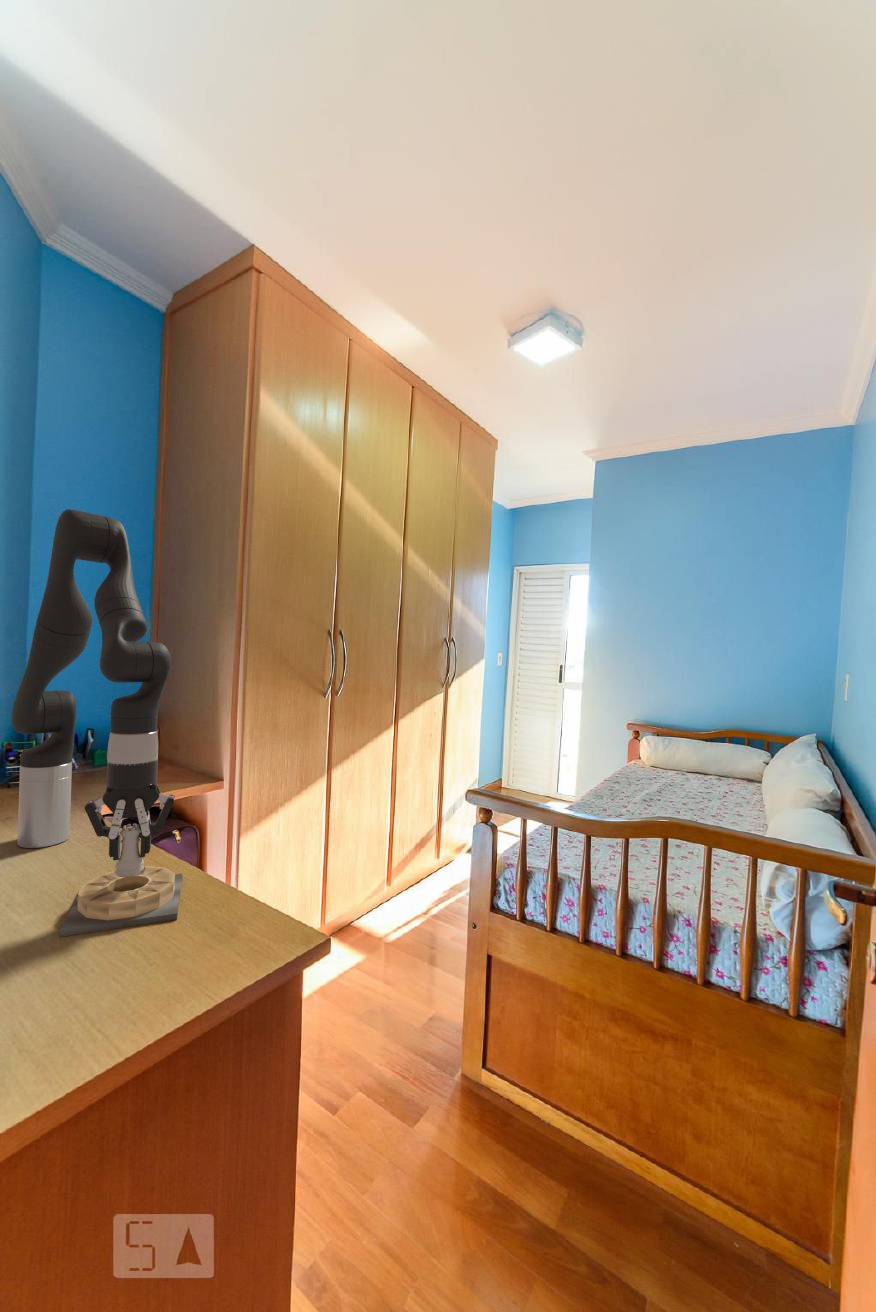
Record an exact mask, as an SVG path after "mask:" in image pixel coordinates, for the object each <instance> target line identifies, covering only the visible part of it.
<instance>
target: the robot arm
mask: <svg viewBox="0 0 876 1312" xmlns="http://www.w3.org/2000/svg"><path fill="white" fill-rule="evenodd" d="M129 544H130V543H129V540H128V535H127V532H126V530H125V527H124V525H123V523H121V521H119V520H118V519H116V518H113V517H111V516H105V515H100V514H96V513H91V512H86V511H82V510H77V509H71V508H69V509H64V510H63V511H62V512H61V514H60V515H59V516H58V519H57V523H56V526H55V530H54V536H53V541H52V549H51V555H50V562H49V569H48V576H47V580H46V586H45V589H44V593H43V597H42V599H41V600H42V601H41V604H40V607H39V611H38V615H37V617H36V618H37V619H36V623H35V626H34V630H33V636H32V640H31V647H30V651H29V655H28V660H27V663H26V668H25V671H24V673H23V676H22V678H21V681H20V684H19V687H18V688H17V692H16V695H15V699H14V702H13V705H12V710H11V725H12V728H13V729H14V731H16V732H17V733H19V734H20V735H21V734H22V735H36V734H48V733H51V734H50V736H49V737H48V738H47V739H46V740H44V741H43V742H41V743H39V744H37V745H35V746H33V747H30V748H26V749H25V750H24V751H22V752H21V754H20V757H19V784H18V785H19V787H18V789H19V790H18V792H19V793H18V817H17V819H18V820H17V844H16V845H17V846H18V847H21V848H24V849H35V848H36V849H37V848H38V849H39V848H46V847H49V846H55V845H57V844H61V843H63V842H65V841H67V840H69V838H70V834H71V833H70V832H71V830H70V829H71V802H72V801H71V800H72V778H73V776H72V774H73V772H72V769H73V753H74V748H75V733H76V723H77V710H78V708H77V706H78V705H77V701H76V697H75V695H74V693H73V692H71V691H69V690H61V689H60V690H59V689H58V690H46V689H47V688H48V685H49V684H50V683H51V681H53V679H54V678H56V677H57V675H59V674H60V673H61V672H62V671H64V670H65V669H66V668H67V667H68V666H70V665H71V664H72V663H73V662H74V661H76V660H77V658H78V657H80V656H81V655H82V654H83V652H84V651H85V649H86V647H87V646H88V645H87V644H88V641H89V637H90V634H91V631H92V627H93V615H92V612H91V609H90V608H89V606H88V603H87V602H86V600H85V598H84V597H83V595H82V593H81V591H80V589H79V587H78V584H77V582H76V579H75V574H74V572H75V571H74V570H75V564H76V561H77V560H78V561H86V562H91V563H92V562H93V563H97V564H99V563H100V564H107V565H108V568H109V573H108V574H107V576H106V577H104V579H103V581H102V582H101V583H100V585H99V587H98V588H97V590H96V593H95V595H94V604H93V605H94V609H95V614H96V616H97V621H98V623H99V627H100V629H101V651H100V659H99V669H100V672H101V674H102V675H103V676H104V678H106V679H107V680H108V681H110V682H112V683H117V684H119V683H120V684H121V683H126V684H127V683H141V685H140V687H139V689H138V690H137V691H136V692H134V693H131V694H129V695H128V694H127V695H124V696H120V697H117V698H115V699H114V700H113V701H112V703H111V705H110V724H109V725H110V730H109V731H110V732H109V739H108V741H107V751H106V761H107V763H106V765H107V766H106V789H105V792H104V794H103V795H102V796H101V797H100V798H96V799H90V800H89V801H87V803H86V804H85V805H84V811H85V812H86V815H87V817H88V819H89V822H90V823H91V826H92V828H93V831H94V832H95V835H96V836H97V837H104V838H105V837H106V838H108V840H109V841H108V842H109V843H108V856H109V858H112V861H118V859H119V858H120V856H121V838H122V836H121V834H120V831H121V830H120V829H121V827H122V822H123V819H128V818H131V817H132V818H138V823H139V827H140V829H141V830H142V831H141V836H140V849H139V853H140V858H142V859H143V858H146V855H147V854H149V853H150V851H151V848H152V845H151V844H152V834H154V833H156V832H160V831H162V828H163V827H164V824H165V823H166V820H167V818H168V816H169V815H170V814H169V813H170V812H171V810H172V808H173V805H174V804H175V800H176V796H175V795H174V794H170V795H167V794H164V793H162V792H161V790H160V789H159V788H158V770H159V769H158V766H159V765H158V763H159V736H158V722H159V721H158V719H159V705H160V701H161V698H162V696H163V692H164V689H165V685H166V682H167V680H168V677H169V675H170V671H171V667H172V656H171V653H170V651H169V649H168V648H167V646H166V645H164V644H163V643H161V642H157V641H156V642H155V641H140V640H141V639H143V638H144V637H145V635H146V634H147V631H148V624H147V620H146V617H145V614H144V612H143V609H142V606H141V603H140V601H139V599H138V596H137V595H138V594H137V592H136V587H135V581H134V580H135V579H134V573H133V565H132V558H131V551H130V550H131V549H130V546H129ZM157 800H158V801H159V807H160V808H161V811H160V813H159V815H158V817H157V819H156V821H155V822H151V815H150V809H151V808H152V807H153V805H155V803H157ZM104 804H105V806H106V807H107V808H108V809H109V810H110V812H111V813H112V814H113V817H112V821H111V824H110V825H111V826H107V824H106V821H105V819H104V816H103V815H102V810H103V808H104V806H103V805H104Z"/></svg>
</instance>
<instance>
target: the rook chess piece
mask: <svg viewBox="0 0 876 1312" xmlns="http://www.w3.org/2000/svg"><path fill="white" fill-rule="evenodd" d="M131 825H132V826H131ZM141 833H142V830H141V827H140V824H137V823H132V824H131V823H128V824H127V825H123V826H121V830H120V831H119V835H121V838H122V839H121V840H120V844H121V850H120V857H119V859H118V860H117V862H116V863H115V870H114V871H115V874H116V875H117V876H119V877H131V876H135V875H137V874H139V873H141V872H142V871H143V869H144V866H145V865H144V864H145V860H144V859H143V857H142V858H140V848H139V841H141V838H139V835H140V834H141Z"/></svg>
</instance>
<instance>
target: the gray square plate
mask: <svg viewBox="0 0 876 1312" xmlns="http://www.w3.org/2000/svg"><path fill="white" fill-rule="evenodd" d="M143 866H144V869H143V871H142V872H141V873H139V874H137V875H135V876H131V877H119V876H117V875H116V874H115V870H113V871H109V872H106V873H102V874H99V875H98V876H96V877H94V878H92V879H90V880H88V881H87V882H85V883H83V884H82V886H81V888H80V890H79V892H78V893H77V897H76V899H75V901H74V903H73V905H72V907H71V908H70V910H69V913H68V914H67V917H66V918H65V920H64V922H63V923H62V926H61V928H60V930H59V938H60V937H66V936H67V937H68V936H74V935H75V936H76V935H80V934H87V933H95V932H100V931H108V930H115V929H121V928H128V927H135V926H141V925H142V926H143V925H147V924H148V925H149V924H155V923H162V922H169V921H174V920H178V915H179V906H180V898H181V892H182V884H183V873H175V872H173V871H171V870H169V869H168V868H166V867H162V866H161V867H160V866H150V865H143Z"/></svg>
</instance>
